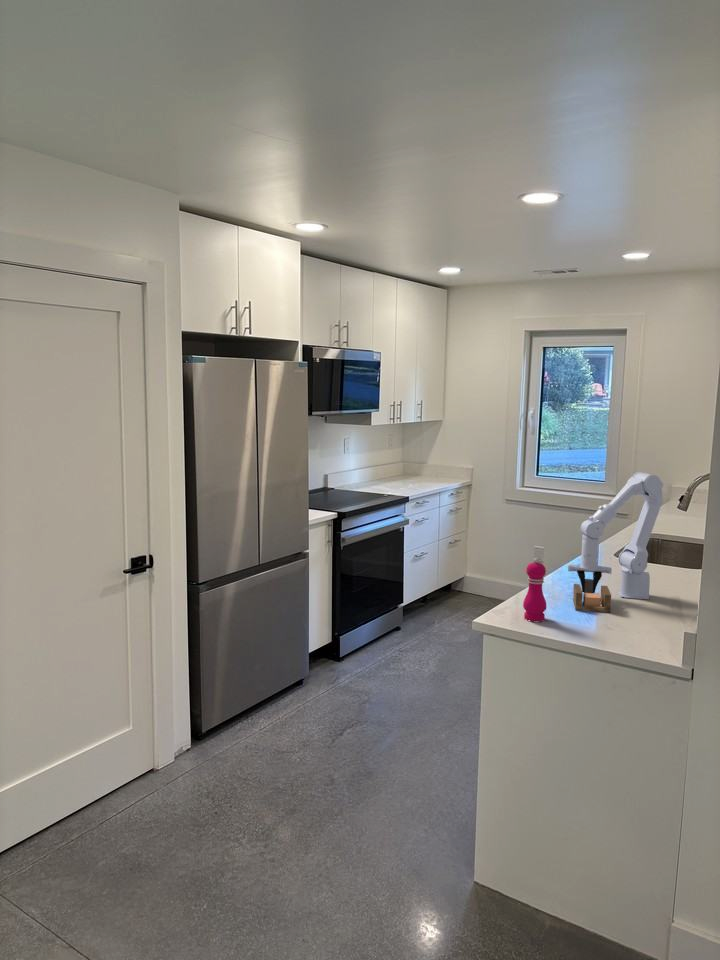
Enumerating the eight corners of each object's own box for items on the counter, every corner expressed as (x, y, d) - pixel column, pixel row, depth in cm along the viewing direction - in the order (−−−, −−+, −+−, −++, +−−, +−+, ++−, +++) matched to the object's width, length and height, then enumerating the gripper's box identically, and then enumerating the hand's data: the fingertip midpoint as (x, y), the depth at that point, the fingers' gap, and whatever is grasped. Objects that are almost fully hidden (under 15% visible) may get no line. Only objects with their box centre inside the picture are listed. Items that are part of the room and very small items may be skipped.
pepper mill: (533, 624, 213) (535, 561, 210) (517, 617, 219) (519, 556, 216) (550, 620, 216) (553, 559, 213) (535, 613, 222) (537, 554, 220)
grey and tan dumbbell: (595, 595, 242) (595, 579, 241) (600, 609, 226) (600, 592, 226) (580, 594, 243) (581, 578, 242) (584, 608, 227) (585, 591, 227)
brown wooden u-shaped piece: (606, 602, 234) (607, 585, 233) (610, 612, 223) (611, 595, 223) (573, 600, 237) (573, 583, 236) (575, 610, 226) (576, 592, 225)
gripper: (610, 552, 241) (608, 590, 243) (567, 550, 244) (566, 587, 246) (613, 557, 234) (611, 595, 236) (569, 555, 238) (567, 592, 239)
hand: (588, 591), depth 241 cm, fingers closed on grey and tan dumbbell, 3 cm apart
